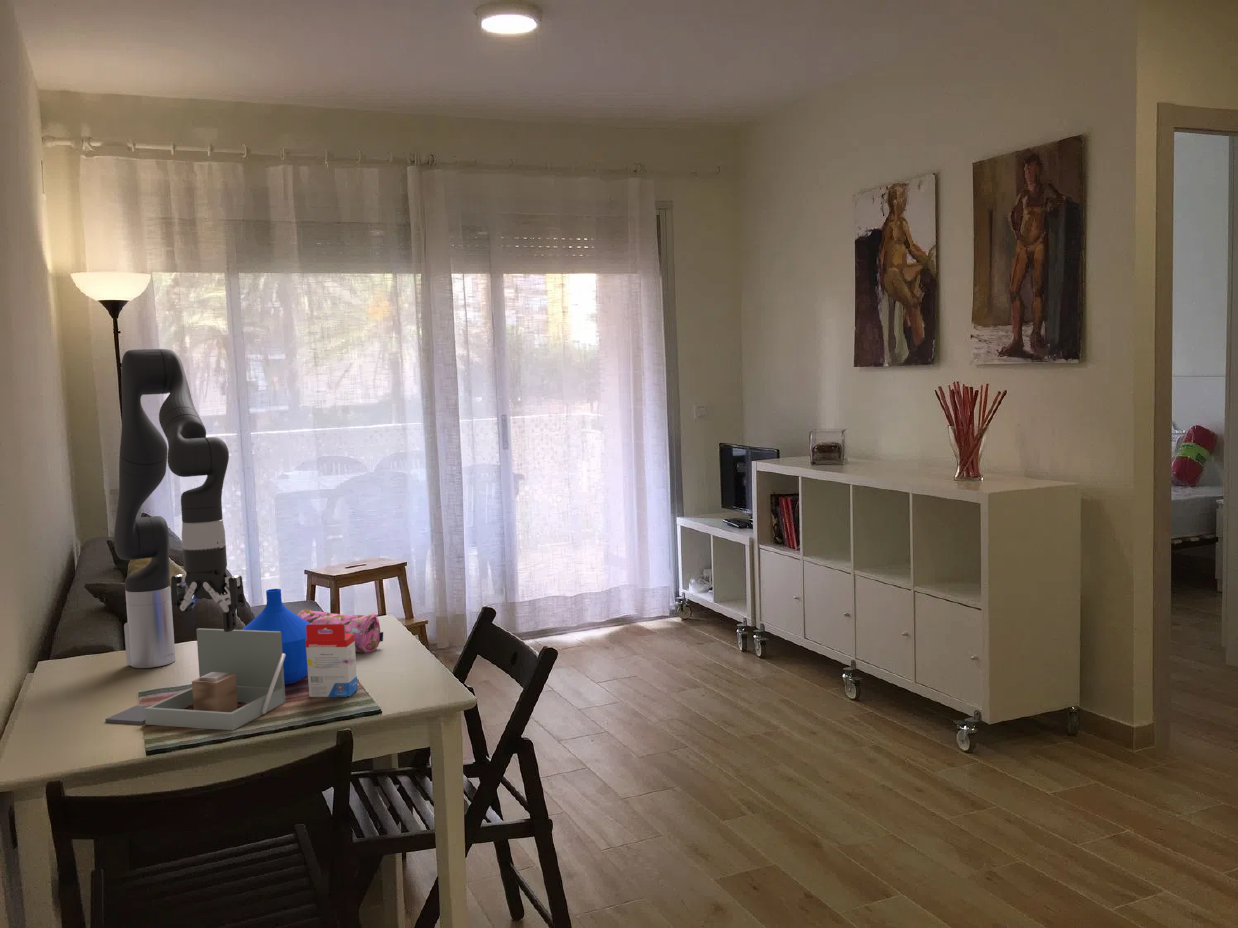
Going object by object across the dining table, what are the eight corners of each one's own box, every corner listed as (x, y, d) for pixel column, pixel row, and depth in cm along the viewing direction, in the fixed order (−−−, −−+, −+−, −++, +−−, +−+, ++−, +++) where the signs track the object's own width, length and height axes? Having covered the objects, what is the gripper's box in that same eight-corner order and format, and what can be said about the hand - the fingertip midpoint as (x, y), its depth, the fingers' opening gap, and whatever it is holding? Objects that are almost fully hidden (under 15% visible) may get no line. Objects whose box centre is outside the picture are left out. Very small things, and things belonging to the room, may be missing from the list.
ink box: (358, 690, 206) (354, 618, 205) (349, 697, 201) (345, 624, 200) (317, 690, 207) (313, 618, 206) (307, 697, 202) (303, 624, 201)
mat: (105, 721, 191) (105, 718, 191) (136, 708, 198) (135, 705, 198) (141, 724, 189) (141, 721, 189) (171, 710, 196) (171, 707, 196)
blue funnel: (215, 682, 214) (209, 592, 213) (294, 663, 228) (289, 578, 226) (261, 698, 202) (256, 603, 201) (341, 676, 216) (336, 587, 214)
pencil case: (387, 647, 240) (385, 609, 239) (364, 657, 231) (362, 618, 231) (311, 641, 248) (309, 605, 247) (286, 651, 239) (284, 614, 238)
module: (194, 717, 192) (191, 678, 191) (213, 708, 197) (210, 670, 196) (219, 719, 190) (217, 680, 190) (237, 710, 196) (235, 671, 195)
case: (145, 724, 189) (140, 649, 188) (203, 697, 204) (199, 628, 203) (236, 730, 184) (232, 653, 182) (289, 702, 199) (285, 631, 198)
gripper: (157, 547, 189) (164, 633, 191) (224, 548, 186) (230, 636, 187) (185, 541, 197) (190, 624, 198) (249, 541, 193) (254, 626, 194)
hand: (209, 630), depth 192 cm, fingers open, 8 cm apart
